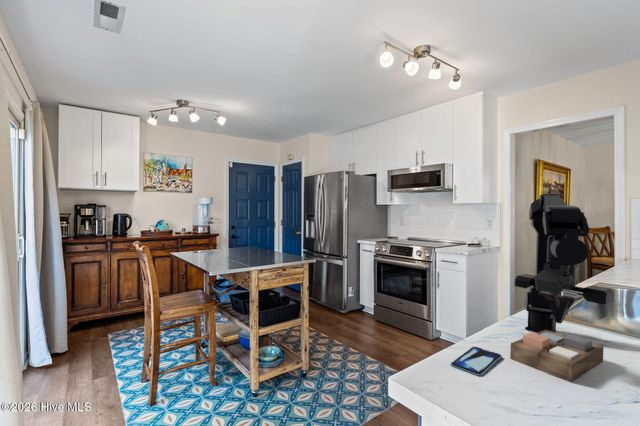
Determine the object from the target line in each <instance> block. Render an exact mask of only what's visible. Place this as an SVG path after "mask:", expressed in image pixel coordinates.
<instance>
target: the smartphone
mask: <svg viewBox="0 0 640 426" xmlns="http://www.w3.org/2000/svg"><path fill="white" fill-rule="evenodd" d="M502 359H503V355H501V354H500V353H498V352H494V351H491V350H489V349H484V348H482V347H479V346H471V347H470V348H469V349H467V350H466V351H465V352H463V353H462V354H461V355H459V356H458V357H457V358H455V359H454V360H453V361H452V362H450V367H451V368H455V369H458V370H460V371H462V372H465V373H468V374H470V375H473V376H476V377H480V378H481V377H483V376H485V374H486V373H487V372H488V371H489V370H491V369H492V368H493V367H494V366H495V365H496V364H498V362H500V361H501V360H502Z"/></svg>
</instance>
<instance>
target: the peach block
mask: <svg viewBox="0 0 640 426" xmlns="http://www.w3.org/2000/svg"><path fill="white" fill-rule="evenodd" d="M522 339H523V343H524V344H527V345H530V346H533V347H536V348H539V349H541V350H545V349H547V348H549V347H550V338H548V337H545V336H542V335H539V334H536V332H533V331H532V332H528V333H525V334H523V335H522Z"/></svg>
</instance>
